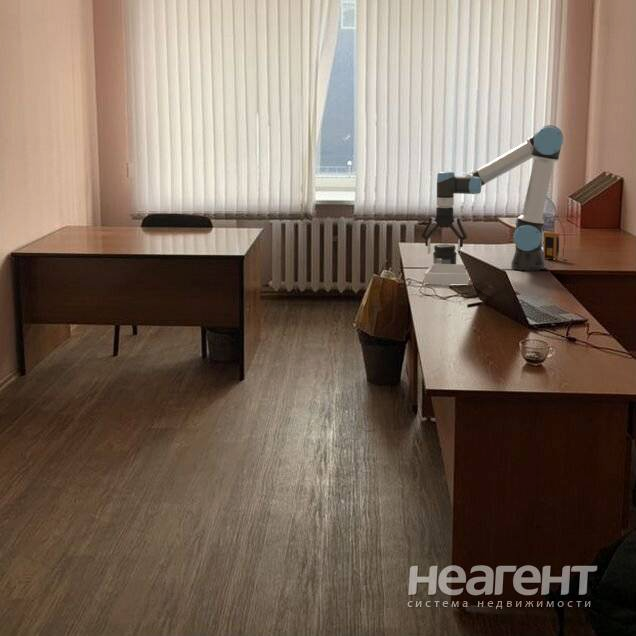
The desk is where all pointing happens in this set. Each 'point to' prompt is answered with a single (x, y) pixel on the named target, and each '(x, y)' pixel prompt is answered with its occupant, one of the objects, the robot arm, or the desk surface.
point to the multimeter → (551, 244)
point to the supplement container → (444, 254)
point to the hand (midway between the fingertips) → (443, 254)
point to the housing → (446, 274)
